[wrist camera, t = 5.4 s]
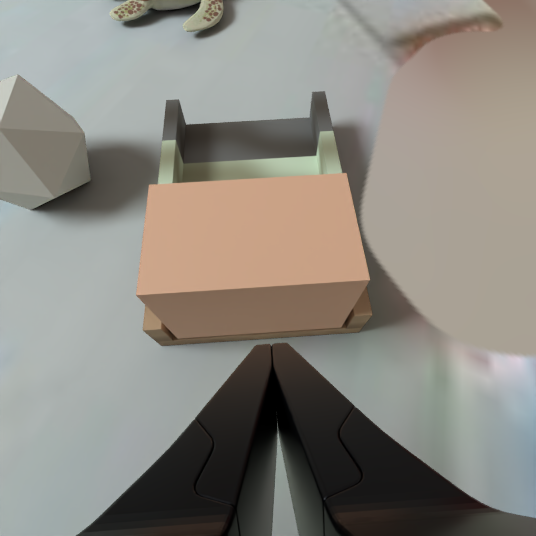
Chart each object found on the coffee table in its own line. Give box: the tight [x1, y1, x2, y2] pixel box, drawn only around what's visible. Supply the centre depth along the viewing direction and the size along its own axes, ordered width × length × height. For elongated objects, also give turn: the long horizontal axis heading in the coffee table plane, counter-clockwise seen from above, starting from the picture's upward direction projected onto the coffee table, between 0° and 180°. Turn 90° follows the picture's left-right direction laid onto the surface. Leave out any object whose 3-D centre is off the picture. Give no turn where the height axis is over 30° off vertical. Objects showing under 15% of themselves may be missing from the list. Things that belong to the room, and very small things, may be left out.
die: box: [0, 74, 91, 210], centre depth 25 cm, size 8×9×10 cm
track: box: [143, 91, 373, 346], centre depth 25 cm, size 19×13×4 cm
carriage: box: [136, 173, 370, 339], centre depth 19 cm, size 6×10×7 cm, turn 94°
